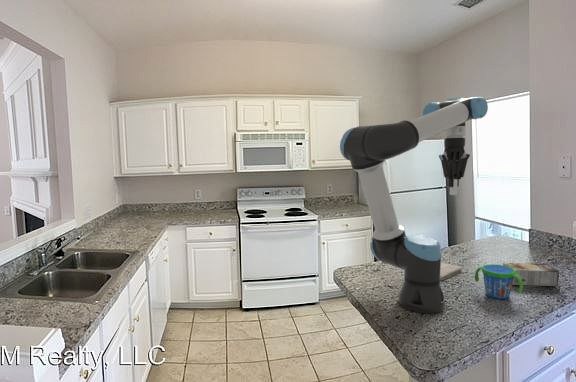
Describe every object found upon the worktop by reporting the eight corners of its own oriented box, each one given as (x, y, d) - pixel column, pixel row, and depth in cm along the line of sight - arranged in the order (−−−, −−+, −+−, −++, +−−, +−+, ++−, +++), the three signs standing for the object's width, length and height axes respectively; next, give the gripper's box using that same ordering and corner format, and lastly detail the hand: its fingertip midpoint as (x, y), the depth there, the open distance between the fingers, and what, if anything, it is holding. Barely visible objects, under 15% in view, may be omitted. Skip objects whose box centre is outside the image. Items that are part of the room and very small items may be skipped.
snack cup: (468, 291, 134) (469, 265, 132) (484, 285, 139) (485, 260, 138) (512, 307, 120) (513, 278, 119) (528, 299, 126) (529, 271, 124)
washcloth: (463, 272, 156) (463, 265, 155) (442, 282, 145) (442, 275, 144) (437, 265, 165) (437, 259, 165) (416, 275, 154) (416, 268, 153)
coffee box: (502, 262, 146) (546, 263, 143) (502, 277, 146) (545, 278, 144) (513, 269, 137) (559, 270, 134) (512, 285, 137) (558, 287, 135)
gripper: (446, 137, 140) (445, 196, 142) (475, 136, 142) (473, 195, 145) (434, 138, 147) (433, 194, 150) (462, 137, 150) (461, 192, 152)
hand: (453, 194), depth 147 cm, fingers closed
